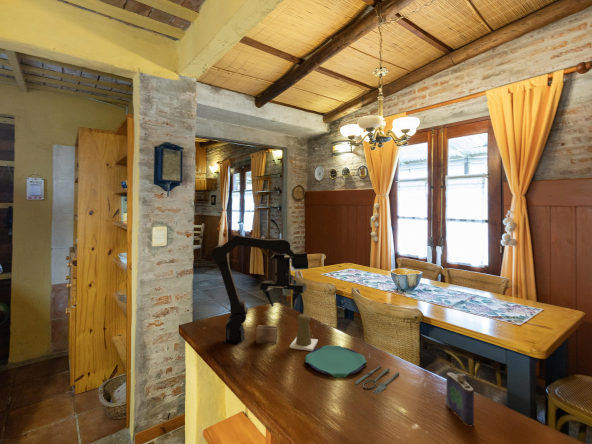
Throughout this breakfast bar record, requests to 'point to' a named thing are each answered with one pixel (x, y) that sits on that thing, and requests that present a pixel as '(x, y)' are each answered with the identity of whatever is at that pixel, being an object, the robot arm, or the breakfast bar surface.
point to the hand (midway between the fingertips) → (282, 307)
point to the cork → (303, 330)
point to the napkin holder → (266, 334)
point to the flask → (460, 397)
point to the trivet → (309, 347)
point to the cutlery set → (343, 364)
